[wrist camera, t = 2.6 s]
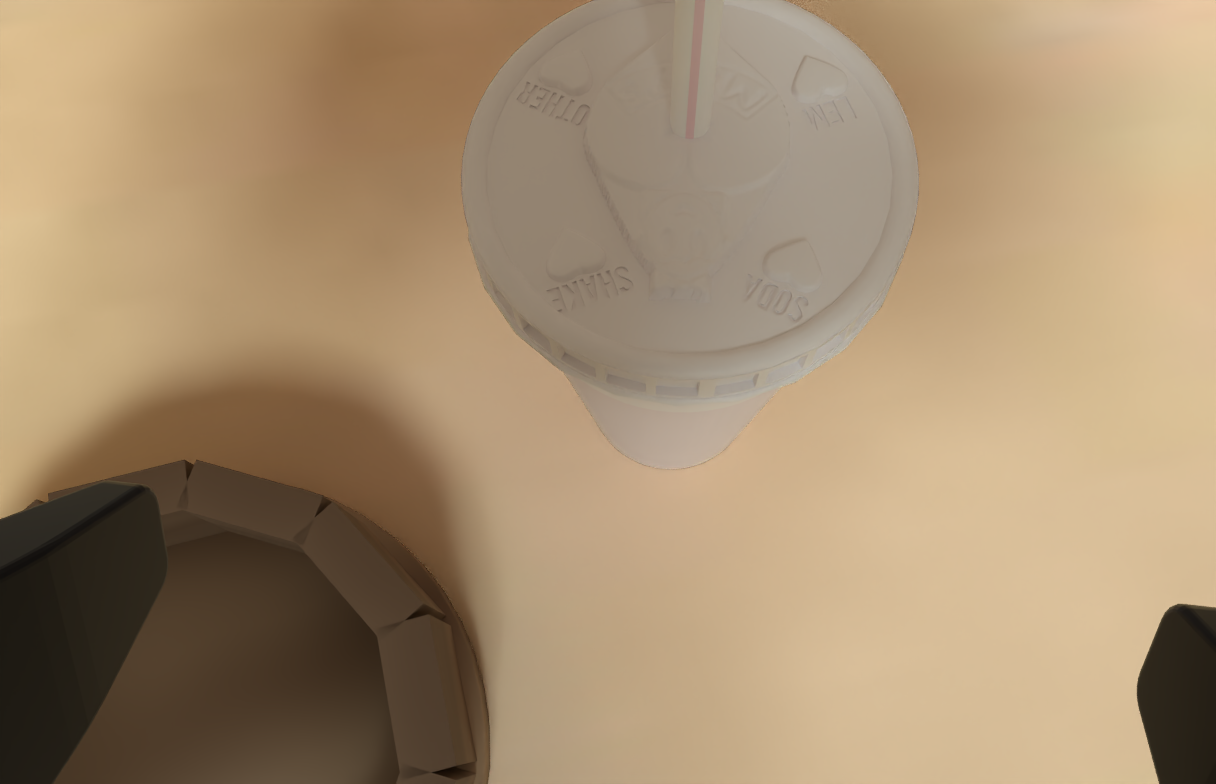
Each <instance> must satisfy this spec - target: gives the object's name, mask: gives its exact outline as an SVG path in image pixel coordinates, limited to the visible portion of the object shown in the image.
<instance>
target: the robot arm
mask: <svg viewBox="0 0 1216 784" xmlns="http://www.w3.org/2000/svg"><path fill="white" fill-rule="evenodd" d="M167 571H168V553H167V548H166V542H165V537H164V531H163V525H162V520H161V514H160V508H159V503H158V499H157V496H156V494H155V492H154V491H153V490H152V489H151V488H150V487H148V486H147V485H144V484H136V483H127V482H119V481H102V482H99V483H96V484H94V485H91V486H88V487H86V488H83V489H80V490H78V491H75V492H72V493H69V494H67V495H64V496H61V497H59V498H56V499H53V500H51V501H48V502H45V503H43V504H40V505H37V506H34V507H32V508H29V509H26V510H24V511H21V512H18V513H16V514H13V515H10V516H8V517H5V518H2V519H0V784H53V783H54V782H55V780H56V779H57V777H58V775H59V774H60V772H61V771H62V769H63V768H64V766H65V765H66V763H67V762H68V760H69V759H70V757H71V756H72V754H73V753H74V751H75V749H76V748H77V746H78V745H79V743H80V741H81V740H82V738H83V736H84V735H85V733H86V732H87V730H88V728H89V727H90V725H91V723H92V721H93V720H94V718H95V716H96V714H97V713H98V711H99V709H100V707H101V705H102V704H103V702H104V700H105V698H106V696H107V694H108V692H109V690H110V688H111V686H112V684H113V682H114V680H115V678H116V676H117V675H118V673H119V671H120V669H121V667H122V665H123V663H124V661H125V659H126V657H127V655H128V653H129V651H130V649H131V647H132V645H133V643H134V642H135V640H136V638H137V636H138V634H139V632H140V630H141V628H142V626H143V624H144V622H145V620H146V618H147V616H148V614H149V612H150V611H151V609H152V607H153V605H154V603H155V601H156V599H157V597H158V595H159V593H160V591H161V589H162V587H163V585H164V582H165V579H166V576H167ZM1137 701H1138V706H1139V711H1140V714H1141V718H1142V722H1143V725H1144V729H1145V733H1146V737H1147V740H1148V744H1149V748H1150V751H1151V755H1152V759H1153V763H1154V766H1155V770H1156V774H1157V777H1158V781H1159V784H1216V608H1215V607H1206V606H1197V605H1188V604H1177V605H1174V606H1172V607H1170V608H1169V609H1168V610H1167V611H1166V612H1165V614H1164V616H1163V617H1162V619H1161V622H1160V624H1159V627H1158V629H1157V632H1156V634H1155V637H1154V639H1153V642H1152V644H1151V647H1150V649H1149V652H1148V654H1147V656H1146V659H1145V661H1144V664H1143V666H1142V669H1141V671H1140V674H1139V678H1138V683H1137Z"/></svg>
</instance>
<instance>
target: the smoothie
mask: <svg viewBox="0 0 1216 784" xmlns="http://www.w3.org/2000/svg"><path fill="white" fill-rule="evenodd" d="M461 184H462V200H463V206H464V213H465V218H466V222H467V225H468V239H469V242H470V245H471V248H472V251H473V254H474V257H475V260H476V263H477V266H478V270H479V273H480V276H481V279H482V282H483V285H484V288H485V290H486V291H487V293H488V294H489V295H490V297H491V298H492V300H493V301H494V303H495V304H496V306H497V307H498V308H499V310H500V311H501V313H502V314H503V316H504V317H505V319H506V320H507V322H508V323H509V324H510V326H511V327H512V329H513V330H514V332H515V333H516V334H517V335H518V336H519V337H520V338H522V339H523V340H524V341H525V342H526V343H528V344H529V345H530V346H531V347H533V348H534V349H535V350H536V351H537V352H539V353H540V354H541V355H542V356H543V357H545V358H546V359H547V360H548V361H550V362H551V363H552V364H553V365H554V366H556V367H557V368H558V369H559V370H560V371H563V372H564V374H565V375H566V377H567V378H568V380H569V381H570V383H571V385H572V386H573V388H574V389H575V391H576V392H577V394H578V395H579V397H580V399H581V400H582V402H583V403H584V405H585V406H586V408H587V410H588V411H589V413H590V414H591V416H592V417H593V419H594V420H595V422H596V424H597V425H598V427H599V428H600V430H601V431H602V433H603V434H604V436H605V437H606V438H607V440H608V441H609V442H610V443H611V444H612V445H613V446H614V447H615V448H616V449H617V450H618V451H620V452H621V453H622V454H624V455H625V456H627V457H628V458H630V459H632V460H634V461H636V462H638V463H641V464H643V465H647V466H650V467H654V468H661V469H682V468H687V467H692V466H695V465H699V464H701V463H704V462H706V461H708V460H710V459H712V458H713V457H715V456H717V455H718V454H719V453H721V452H722V451H723V450H725V449H726V448H727V447H728V446H729V445H730V444H731V443H732V441H733V440H734V439H735V438H736V437H737V436H738V435H739V434H740V433H741V432H742V430H743V429H744V428H745V427H746V426H747V425H748V424H749V423H750V422H751V420H752V419H753V418H754V417H755V416H756V415H757V414H758V413H759V412H760V410H761V409H762V408H763V407H764V406H765V405H766V404H767V403H768V402H769V400H770V399H771V398H772V397H773V396H774V395H775V394H776V393H777V392H778V390H779V389H780V388H781V387H783V386H786V385H789V384H792V383H795V382H797V381H798V380H800V379H801V378H803V377H804V376H806V375H807V374H809V373H810V372H812V371H813V370H815V369H816V368H818V367H819V366H821V365H822V364H824V363H825V362H827V361H828V360H830V359H831V358H833V357H834V356H836V355H837V354H839V353H840V352H842V351H843V350H845V349H846V348H847V346H848V345H849V344H850V343H851V342H852V341H853V339H854V338H855V337H856V336H857V335H858V333H859V332H860V331H861V330H862V329H863V328H864V326H865V325H866V324H867V323H868V322H869V321H870V319H871V318H872V317H873V316H874V315H875V314H876V312H877V311H878V310H879V309H880V308H881V307H882V304H883V302H884V300H885V297H886V295H887V293H888V291H889V288H890V286H891V284H892V281H893V279H894V277H895V275H896V272H897V270H898V268H899V266H900V263H901V261H902V259H903V255H904V252H905V249H906V247H907V244H908V241H909V239H910V236H911V233H912V229H913V225H914V221H915V217H916V211H917V203H918V196H919V170H918V160H917V153H916V148H915V144H914V139H913V135H912V132H911V129H910V126H909V123H908V120H907V117H906V115H905V113H904V110H903V108H902V106H901V104H900V102H899V100H898V98H897V96H896V94H895V93H894V91H893V89H892V88H891V86H890V84H889V83H888V81H887V80H886V78H885V77H884V76H883V74H882V73H881V72H880V70H879V69H878V68H877V66H876V65H875V64H874V63H873V62H872V61H871V60H870V59H869V57H868V56H867V55H866V54H865V53H864V52H863V51H862V50H861V49H860V48H859V47H858V46H857V45H856V44H854V43H853V42H852V41H851V40H850V39H849V38H848V37H847V36H845V35H844V34H843V33H841V32H840V31H839V30H837V29H836V28H835V27H833V26H832V25H831V24H829V23H827V22H826V21H824V20H823V19H821V18H819V17H818V16H816V15H815V14H813V13H811V12H809V11H807V10H805V9H803V8H801V7H799V6H797V5H795V4H792V3H790V2H787V1H785V0H593V1H590V2H588V3H586V4H584V5H581V6H579V7H577V8H575V9H573V10H571V11H569V12H568V13H566V14H564V15H562V16H560V17H559V18H557V19H556V20H554V21H553V22H551V23H550V24H548V25H547V26H545V27H544V28H542V29H541V30H540V31H538V32H537V33H536V34H535V35H533V36H532V37H531V38H530V39H528V40H527V41H526V42H525V43H524V44H523V45H522V46H521V47H520V48H519V49H518V50H517V51H516V52H515V53H514V54H513V55H512V56H511V57H510V58H509V59H508V60H507V62H506V63H505V64H504V65H503V66H502V68H501V69H500V70H499V71H498V73H497V74H496V76H495V77H494V79H493V80H492V81H491V83H490V84H489V86H488V88H487V89H486V91H485V93H484V95H483V97H482V98H481V100H480V102H479V104H478V107H477V109H476V111H475V114H474V116H473V118H472V121H471V124H470V128H469V131H468V134H467V138H466V142H465V148H464V153H463V160H462V173H461Z"/></svg>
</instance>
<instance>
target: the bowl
mask: <svg viewBox="0 0 1216 784" xmlns="http://www.w3.org/2000/svg"><path fill="white" fill-rule="evenodd" d="M102 481H119V482H127V483H136V484H144V485H147V486H148V487H150V488H151V489H152V490H153V491H154V492H155V494H156V496H157V499H158V503H159V508H160V514H161V520H162V525H163V531H164V537H165V542H166V548H167V553H168V571H167V576H166V579H165V582H164V585H163V587H162V589H161V591H160V593H159V595H158V597H157V599H156V601H155V603H154V605H153V607H152V609H151V611H150V612H149V614H148V616H147V618H146V620H145V622H144V624H143V626H142V628H141V630H140V632H139V634H138V636H137V638H136V640H135V642H134V643H133V645H132V647H131V649H130V651H129V653H128V655H127V657H126V659H125V661H124V663H123V665H122V667H121V669H120V671H119V673H118V675H117V676H116V678H115V680H114V682H113V684H112V686H111V688H110V690H109V692H108V694H107V696H106V698H105V700H104V702H103V704H102V705H101V707H100V709H99V711H98V713H97V714H96V716H95V718H94V720H93V721H92V723H91V725H90V727H89V728H88V730H87V732H86V733H85V735H84V736H83V738H82V740H81V741H80V743H79V745H78V746H77V748H76V749H75V751H74V753H73V754H72V756H71V757H70V759H69V760H68V762H67V763H66V765H65V766H64V768H63V769H62V771H61V772H60V774H59V775H58V777H57V779H56V780H55V782H54V783H53V784H488V777H489V768H490V735H489V720H488V712H487V705H486V698H485V690H484V686H483V682H482V678H481V675H480V671H479V667H478V664H477V660H476V656H475V653H474V650H473V648H472V646H471V643H470V641H469V638H468V636H467V634H466V631H465V629H464V626H463V624H462V621H461V620H460V618H459V616H458V614H457V613H456V611H455V609H454V608H453V606H452V604H451V602H450V601H449V599H448V597H447V595H446V594H445V592H444V591H443V589H442V588H441V587H440V585H439V584H438V583H437V582H436V580H435V579H434V578H433V577H432V575H431V574H430V573H429V571H428V570H427V569H426V568H425V566H424V565H423V564H422V563H421V562H420V561H419V560H418V559H417V558H416V557H415V556H414V555H413V554H412V553H411V552H410V551H409V550H407V549H406V548H405V547H404V546H403V545H402V544H401V543H400V542H399V541H398V540H396V539H395V538H394V537H392V536H391V535H390V534H388V533H387V532H385V531H384V530H383V529H381V528H380V527H378V526H377V525H376V524H374V523H373V522H372V521H370V520H369V519H367V518H366V517H365V516H363V515H361V514H359V513H358V512H356V511H354V510H352V509H350V508H348V507H346V506H344V505H342V504H340V503H338V502H337V501H335V500H332V499H330V498H327V497H324V496H323V495H319V494H316V493H313V492H310V491H307V490H304V489H301V488H296V487H291V486H287V485H284V484H280V483H277V482H273V481H270V480H266V479H263V478H259V477H255V476H252V475H248V474H245V473H241V472H238V471H234V470H231V469H227V468H223V467H220V466H216V465H213V464H209V463H206V462H202V461H199V460H196V462H195V464H194V465H193V464H191V463H189V462H187V461H186V460H182V461H178V462H174V463H170V464H166V465H162V466H158V467H153V468H149V469H145V470H141V471H137V472H133V473H129V474H125V475H121V476H117V477H113V478H109V479H105V480H101V481H97V482H93V483H89V484H85V485H81V486H77V487H73V488H69V489H65V490H61V491H57V492H53V493H49V494H48V497H49V501H51V500H53V499H56V498H59V497H61V496H64V495H67V494H69V493H72V492H75V491H78V490H80V489H83V488H86V487H88V486H91V485H94V484H96V483H99V482H102ZM43 503H45V502H42V501H39V500H35V501H34V502H33V503H32V504H31V505H29V506H28V507H27V508H26V509H29V508H32V507H34V506H37V505H40V504H43ZM26 509H25V510H26ZM23 511H24V510H23Z"/></svg>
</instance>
